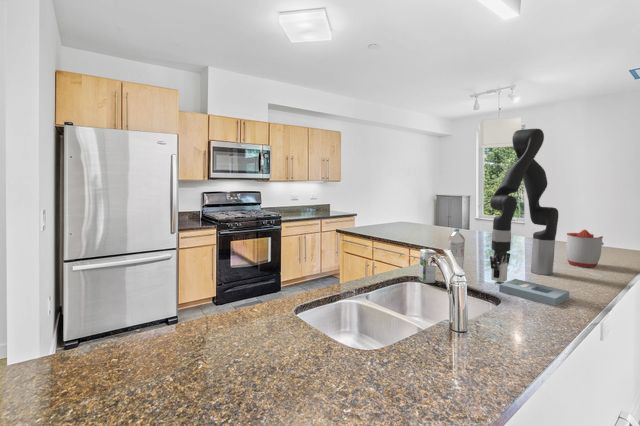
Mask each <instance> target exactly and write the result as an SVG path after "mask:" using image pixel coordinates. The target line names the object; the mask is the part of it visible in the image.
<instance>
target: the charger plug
mask: <svg viewBox="0 0 640 426" xmlns="http://www.w3.org/2000/svg"><path fill="white" fill-rule="evenodd" d="M497 263H500V262H497ZM493 265H494V264H493ZM508 267H509V264H508V263H503V262H502V264H501V265H500V273H499V278H494V269H492V268H491V281H495V282H500V283H505V282H508Z"/></svg>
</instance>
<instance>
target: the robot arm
mask: <svg viewBox="0 0 640 426" xmlns="http://www.w3.org/2000/svg"><path fill="white" fill-rule="evenodd" d="M511 139H512V146H513V150H514V152H515V155H516V157H517V160H516V161H515V162H514V163H513V164H512V165H511V166H510V167H509V168H508V170H507V171H506V172H505V175H504V177H503V179H502V182H501V184H500V185H499V186H498V188H497V189H496V190H495V192H494V193H493V195H492V196H491V198H490V202H489V205H490V207H491V209H492V210H494V211H498V212H499V211H501V212H502V213H501V215H496V216H495V217H493V219H492V220H493V221H492V222H493V223H492V233H491V246H490V248H491V250H493V251H494V252H493V255H490V256H489V262H490V269H491V270H492V269H494V278H499V273H500V265H501V264H502V262H503V263H508V265H509V264H510V260H511V259H510V258H511V253H509V252H510V251H511V246H512V245H511V244H512V221H513V218H514V216H515V213H516V210H517V205H518V202H517V200H516V199H517V198H516V197H515V196H513V195H510V194H514V193H517V192H518V190H519V189H520V186H521V184H522V181H523V185H524V187H525V191H526V195H527V196H526V197H527V201H528V209H529V210H528V211H529V217H530V221H531V222H532V224H534V225H538V226H546V227H545V229H543V230H541V231H535V232H533V235H532V248H531V249H532V250H531V261H530V262H531V264H530V272H531V273H534V274H538V275H543V276H551V275H553V274H554V262H555V248H556V247H555V245H556V236H557V231H558V230H557V229H558V222H559V210H558V209H557V208H556V207H550V206H541V205H540V199H541V197H542V196H543V194H544V192H545V191H546V190H547V187H548V180H547V179H548V178H547V174H546V171H545V169H544V167H542V165H540V164H539V162H538V161H537V160H535V158H536V156H537V155H538V153H539V152H540V149H541V148H542V146H543V144H544V139H545V135H544V132H543V130H542V128H541V129H540V128H526V129H517V130H516V131H514V133H513V134H512V138H511ZM497 262H500V263H497ZM493 264H494V265H493Z"/></svg>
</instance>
